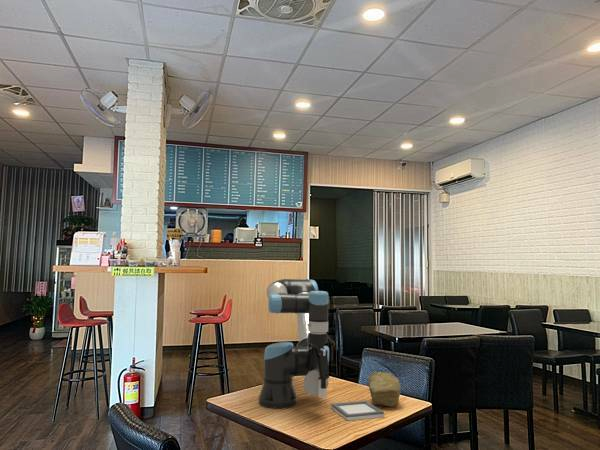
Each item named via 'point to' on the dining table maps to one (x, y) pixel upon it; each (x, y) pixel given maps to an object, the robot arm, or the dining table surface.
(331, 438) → the dining table surface
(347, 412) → the plate
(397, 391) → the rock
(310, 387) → the grey rounded piece
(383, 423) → the dining table surface
